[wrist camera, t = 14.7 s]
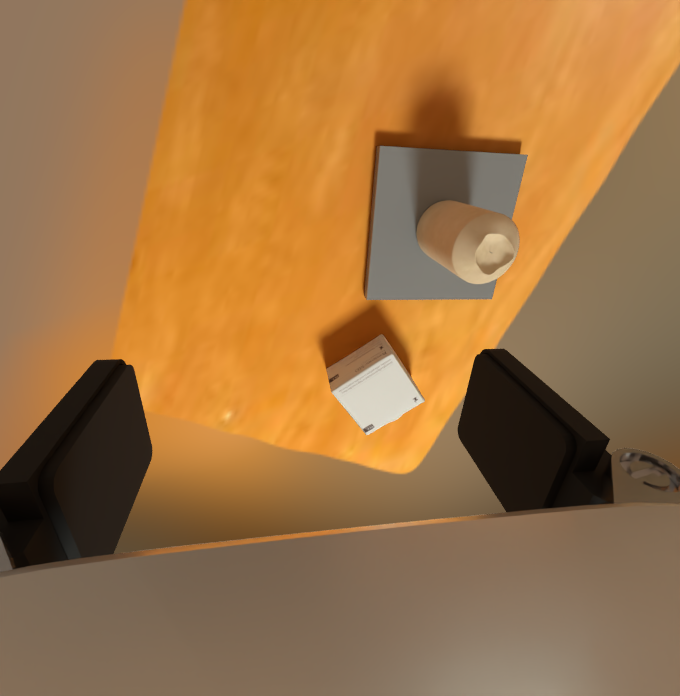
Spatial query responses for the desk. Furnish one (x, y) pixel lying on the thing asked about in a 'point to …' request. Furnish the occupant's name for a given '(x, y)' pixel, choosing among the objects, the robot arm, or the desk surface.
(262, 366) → the desk surface
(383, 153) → the slate coaster
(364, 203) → the desk surface
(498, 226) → the candle
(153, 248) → the desk surface
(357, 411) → the small box
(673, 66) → the desk surface
